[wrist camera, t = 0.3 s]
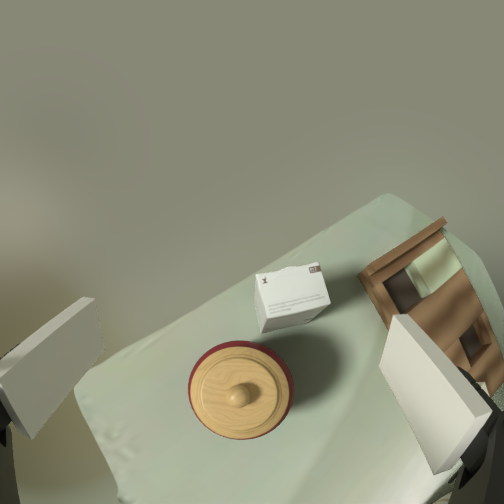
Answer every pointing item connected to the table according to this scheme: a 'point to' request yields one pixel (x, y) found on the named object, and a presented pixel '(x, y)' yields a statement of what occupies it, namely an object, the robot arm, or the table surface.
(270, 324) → the skincare box
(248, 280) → the table surface
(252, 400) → the canister
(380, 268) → the board
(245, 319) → the table surface
